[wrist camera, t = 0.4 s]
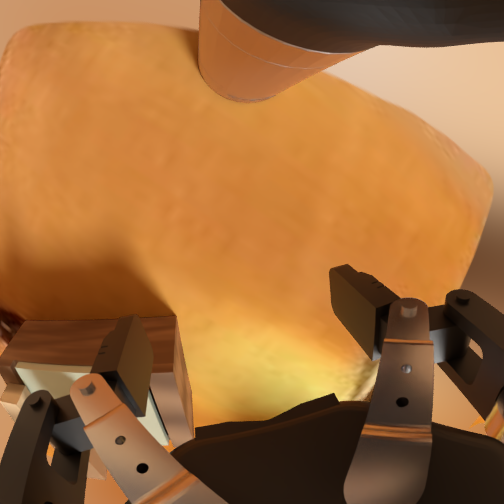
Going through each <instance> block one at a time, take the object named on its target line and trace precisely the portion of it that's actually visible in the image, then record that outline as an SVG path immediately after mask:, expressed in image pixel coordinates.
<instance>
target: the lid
mask: <svg viewBox="0 0 504 504" xmlns="http://www.w3.org/2000/svg"><path fill="white" fill-rule="evenodd" d="M15 369H16V370H17V372H18V374H19V376H20V377H21V379H22V381H23V383H24V384H25V385H26V387H27V389H28V390H29V392H30V393H31V394H32V393H33V392H35V391H38V390H47V391H49V392H50V394H51V395H52V396H53V398H54V399H57V398H60V397H63V396H66V395H69V394H70V388H71V386H72V384H73V383H74V382H75V381H76V380H77V379H79V378H80V377H82V376H84V375H87V374H90V371H91V369H92V366H67V365H50V364H37V363H26V362H18V363H17V365H16V367H15ZM137 419H138V420H139V421H140V422H141V424H142V425H143V426H144V427H145V428H146V429H147V430H148V431H149V433H150V434H151V435H152V436H153V437H154V438H155V439H156V440H157V441H158V442H159V443H160V444H161V445H169V438H168V436H167V434H166V431H165V429H164V427H163V424H162V422H161V419H160V417H159V414H158V412H157V409H156V406H155V404H154V401H153V399H152V396H151V393H150V390H149V393H148V400H147V408H146V416H145V417H138V418H137ZM53 447H54V446H53ZM54 449H55V447H54ZM106 476H107V468H106V466H105V465H104V463H103V462H102V460H101V458H100V457H99V455H98V454H97V452H96V450H95V448H92V449H91V450H90V457H89V464H88V471H87V478H93V479H100V480H106Z"/></svg>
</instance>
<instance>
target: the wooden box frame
mask: <svg viewBox="0 0 504 504" xmlns="http://www.w3.org/2000/svg"><path fill="white" fill-rule="evenodd" d="M140 320H141V322H142V325H143V327H144V329H145V332H146V334H147V336H148V339H149V341H150V343H151V346H152V349H153V355H154V359H153V366H152V372H151V379H150V388H151V390H150V393H151V396H152V399H153V401H154V404H155V406H156V409H157V412H158V414H159V417H160V419H161V422H162V424H163V427H164V429H165V431H166V434H167V436H168V438H169V440H171V441H172V444H173V446H174V447H178V446H180V445H181V444H183V443H185V442H187V441H189V440H191V439H194V425H193V407H192V391H191V387H190V382H189V378H188V373H187V368H186V364H185V359H184V354H183V349H182V344H181V338H180V333H179V328H178V322H177V316H164V317H148V318H140ZM117 322H118V319H104V320H25V322H24V323H23V324H22V326H21V327H20V328H19V330H18V331H17V333H16V334H15V335H14V337H13V338H12V340H11V341H10V343H9V344H8V346H7V347H6V349H5V350H4V352H3V353H2V355H1V356H0V374H1V376H2V378H3V379H4V381H5V383H6V384H7V385H8V383H13V384H19V385H25V384H24V383H23V381H22V379H21V377H20V376H19V374H18V372H17V370H16V369H15V367H16V365H17V363H18V362H26V363H37V364H50V365H67V366H93V364H94V361H95V359H96V356H97V355H98V351H99V349H100V348H101V347H100V346H101V344H102V342H103V339H104V338H105V337H106V336H107V335H108V334H109V332H110V331H113V330H114V329H115V327H116V324H117ZM49 443H50V442H49ZM50 444H51V443H50ZM51 445H52V444H51ZM52 447H53V445H52ZM53 448H54V447H53Z"/></svg>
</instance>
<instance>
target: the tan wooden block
mask: <svg viewBox="0 0 504 504" xmlns="http://www.w3.org/2000/svg"><path fill="white" fill-rule="evenodd" d="M30 394H31V393H30V392H29V390H28V389H27V387H26V385H19V384H13V383H8V385H7V387H6V389H5V390H4V392H3V394H2V396H1V398H0V403H1V404H2V406H3V407H4V408H5V410H6V411H7V412H8V414H9V415H10V417H11V418H12V419H13V420H14V422H16V419H17V417H18V414H19V412H20V409H21V407H22V405H23V403H24V401H25V399H26V398H27V397H28V396H29V395H30Z"/></svg>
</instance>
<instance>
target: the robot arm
mask: <svg viewBox="0 0 504 504" xmlns="http://www.w3.org/2000/svg"><path fill="white" fill-rule="evenodd" d="M503 41H504V0H200V20H199V44H198V65H199V69H200V73H201V75H202V77H203V79H204V81H205V82H206V83H207V84H208V86H209V87H210V88H211V89H212V90H214V91H215V92H216V93H217V94H219V95H221V96H223V97H225V98H227V99H230V100H233V101H236V102H245V103H251V102H259V101H263V100H266V99H269V98H270V97H273V96H275V95H276V94H278V93H280V92H282V91H284V90H286V89H287V88H289V87H291V86H293V85H295V84H297V83H299V82H301V81H302V80H304V79H306V78H308V77H310V76H312V75H314V74H316V73H318V72H320V71H322V70H324V69H326V68H328V67H330V66H333V65H335V64H337V63H339V62H340V61H343V60H345V59H347V58H350V57H352V56H354V55H356V54H359V53H361V52H363V51H366V50H368V49H370V48H373V47H375V46H378V45H393V46H405V47H447V46H456V45H465V44H475V43H485V42H503ZM329 278H330V292H331V304H332V308H333V311H334V313H335V315H336V316H337V317H338V319H339V320H340V321H341V322H342V324H343V325H344V326H345V327H346V329H347V330H348V331H349V332H350V334H351V335H352V336H353V337H354V339H355V340H356V341H357V342H358V344H359V345H360V346H361V347H362V349H363V350H364V351H365V352H366V354H367V355H368V356H369V358H370V359H371V360H372V361H374V360H377V359H379V358H380V363H379V368H378V373H377V378H376V382H375V387H374V391H373V395H372V399H371V403H370V402H364V401H340V402H339V401H338V399H337V398H336V396H335V394H334V393H332V394H329V395H326V396H323V397H320V398H317V399H314V400H311V401H308V402H305V403H301V404H299V405H297V406H296V407H294V408H292V409H290V410H288V411H286V412H284V413H282V414H280V415H278V416H276V417H274V418H272V419H269V420H266V421H244V422H225V423H220V424H214V425H208V426H203V427H196V428H195V437H196V438H194V439H191V440H189V441H187V442H185V443H183V444H181V445H180V446H178V447H177V448H175V449H174V450H173V451H171V452H170V453H169V452H168V451H167V450H166V449H165V448H164V447H163V446H162V445H161V444H160V443H159V442H158V441H157V440H156V439H155V438H154V437H153V436H152V435H151V434H150V433H149V431H148V430H147V429H146V428H145V427H144V426H143V425H142V424H141V422H140V421H139V420H138V419H137V418H138V417H145V416H146V408H147V400H148V393H149V385H150V379H151V372H152V366H153V359H154V355H153V349H152V346H151V343H150V341H149V339H148V336H147V334H146V332H145V329H144V327H143V325H142V322H141V320H140V318H139V316H138V315H137V314H134V315H129V316H124V317H120V318H119V319H118V322H117V324H116V327H115V329H114V330H113V331H110V332H109V334H108V335H107V336H106V337H105V338H104V339H103V342H102V344H101V346H100V347H101V348H100V349H99V351H98V355H97V356H96V359H95V361H94V364H93V366H92V369H91V371H90V374H87V375H84V376H82V377H80V378H79V379H77V380H76V381H75V382H74V383H73V384H72V386H71V388H70V394H69V395H66V396H63V397H60V398H57V399H54V398H53V396H52V395H51V394H50V392H49V391H47V390H38V391H35V392H33V393H32V394H30V395H29V396H28V397H27V398H26V399H25V401H24V403H23V405H22V407H21V409H20V412H19V414H18V417H17V419H16V422H15V424H14V427H13V430H12V432H11V434H10V437H9V440H8V442H7V445H6V448H5V451H4V454H3V457H2V460H1V463H0V504H84V498H85V488H86V479H87V471H88V464H89V457H90V450H91V449H92V448H95V450H96V452H97V454H98V455H99V457H100V458H101V460H102V462H103V463H104V465H105V466H106V468H107V469H108V471H109V472H110V474H111V475H112V477H113V478H114V480H115V481H116V483H117V484H118V486H119V487H120V488H121V490H122V491H123V492H124V494H125V495H126V497H127V498H128V501H127V502H126V503H125V504H504V315H503V314H502V313H501V312H499V311H498V310H497V309H495V308H494V307H493V306H491V305H490V304H489V303H487V302H486V301H484V300H483V299H482V298H480V297H479V296H477V295H476V294H474V293H473V292H471V291H468V290H462V289H458V290H453V291H451V292H449V293H448V294H447V295H446V299H445V305H440V306H434V307H428V306H427V305H426V303H424V302H423V301H421V300H419V299H416V298H400V297H399V296H397V295H396V294H395V293H394V292H392V291H391V290H390V289H388V288H387V287H386V286H384V285H383V284H382V283H381V282H379V281H378V280H377V279H376V278H374V277H373V276H372V275H369V274H366V273H363V272H359V273H358V272H357V271H356V270H355V269H353V268H352V267H351V266H350V265H348V264H345V265H341V266H338V267H334V268H331V269H330V271H329ZM471 339H472V340H474V341H475V342H476V343H477V344H478V345H479V346H480V347H481V349H482V352H483V359H481V358H480V357H479V356H478V355H477V354H476V353H475V352H474V351H473V350H472V349H471V348H470V347H469V343H470V340H471ZM434 363H437V364H438V365H439V367H440V368H441V369H442V370H443V371H444V372H445V373H446V375H447V376H448V377H449V378H450V379H451V380H452V382H453V383H454V384H455V385H456V386H457V387H458V389H459V390H460V391H461V392H462V393H463V395H464V396H465V397H466V398H467V399H468V401H469V402H470V403H471V404H472V405H473V407H474V408H475V409H476V410H477V411H478V413H479V414H480V415H481V417H482V418H483V419H484V420H485V431H486V434H487V435H482V434H478V433H473V432H469V431H465V430H461V429H457V428H453V427H449V426H445V425H442V424H438V423H435V422H431V421H432V408H433V387H434ZM49 442H50V443H51V444H52V445H53V446H54V447H55V450H54V455H53V459H52V463H51V467H50V465H49V464H48V461H47V458H46V453H47V449H48V445H49Z"/></svg>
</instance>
